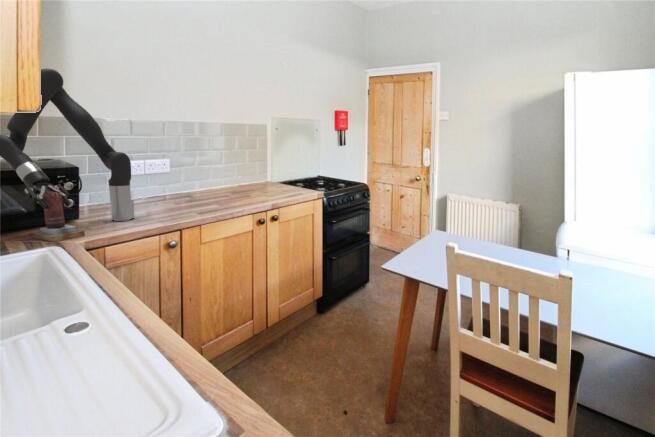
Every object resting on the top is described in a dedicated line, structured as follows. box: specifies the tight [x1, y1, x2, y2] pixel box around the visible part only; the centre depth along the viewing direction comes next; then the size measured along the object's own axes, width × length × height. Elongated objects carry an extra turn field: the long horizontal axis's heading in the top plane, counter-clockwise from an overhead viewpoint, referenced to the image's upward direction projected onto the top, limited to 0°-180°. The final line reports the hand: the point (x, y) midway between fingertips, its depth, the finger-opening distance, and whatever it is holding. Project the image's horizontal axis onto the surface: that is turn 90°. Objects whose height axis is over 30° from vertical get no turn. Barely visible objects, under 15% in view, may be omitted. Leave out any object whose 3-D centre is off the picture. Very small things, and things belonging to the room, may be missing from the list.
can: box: [43, 192, 66, 229], centre depth 148 cm, size 6×6×14 cm
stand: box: [33, 223, 86, 242], centre depth 150 cm, size 12×12×4 cm
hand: (58, 206), depth 148 cm, fingers open, 8 cm apart
